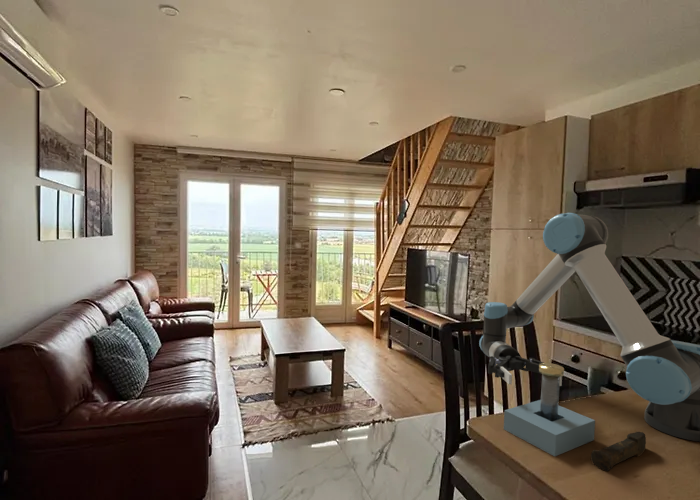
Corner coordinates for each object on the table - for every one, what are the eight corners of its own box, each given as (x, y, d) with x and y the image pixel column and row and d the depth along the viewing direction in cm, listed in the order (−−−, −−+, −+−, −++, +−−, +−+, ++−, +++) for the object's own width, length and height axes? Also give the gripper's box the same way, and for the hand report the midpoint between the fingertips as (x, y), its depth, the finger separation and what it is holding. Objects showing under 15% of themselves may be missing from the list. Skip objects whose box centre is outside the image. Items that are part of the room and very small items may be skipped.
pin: (565, 432, 98) (568, 368, 97) (551, 438, 96) (555, 372, 95) (544, 423, 103) (547, 361, 102) (530, 427, 100) (534, 364, 99)
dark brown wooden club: (608, 475, 83) (609, 453, 83) (589, 464, 87) (591, 444, 87) (657, 455, 92) (659, 436, 91) (638, 446, 95) (640, 428, 95)
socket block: (594, 440, 97) (595, 420, 97) (554, 456, 89) (555, 435, 89) (542, 416, 109) (543, 398, 109) (503, 429, 101) (504, 410, 101)
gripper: (542, 368, 128) (580, 395, 107) (466, 366, 128) (489, 392, 107) (543, 345, 128) (581, 368, 106) (467, 343, 128) (490, 365, 106)
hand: (535, 380), depth 106 cm, fingers open, 13 cm apart
